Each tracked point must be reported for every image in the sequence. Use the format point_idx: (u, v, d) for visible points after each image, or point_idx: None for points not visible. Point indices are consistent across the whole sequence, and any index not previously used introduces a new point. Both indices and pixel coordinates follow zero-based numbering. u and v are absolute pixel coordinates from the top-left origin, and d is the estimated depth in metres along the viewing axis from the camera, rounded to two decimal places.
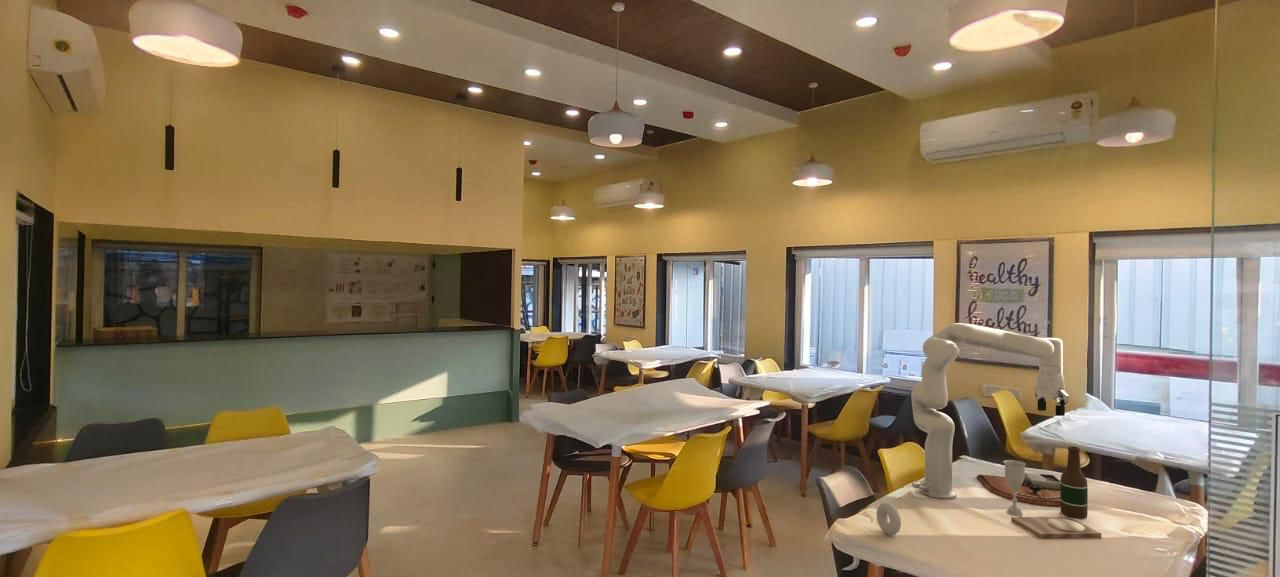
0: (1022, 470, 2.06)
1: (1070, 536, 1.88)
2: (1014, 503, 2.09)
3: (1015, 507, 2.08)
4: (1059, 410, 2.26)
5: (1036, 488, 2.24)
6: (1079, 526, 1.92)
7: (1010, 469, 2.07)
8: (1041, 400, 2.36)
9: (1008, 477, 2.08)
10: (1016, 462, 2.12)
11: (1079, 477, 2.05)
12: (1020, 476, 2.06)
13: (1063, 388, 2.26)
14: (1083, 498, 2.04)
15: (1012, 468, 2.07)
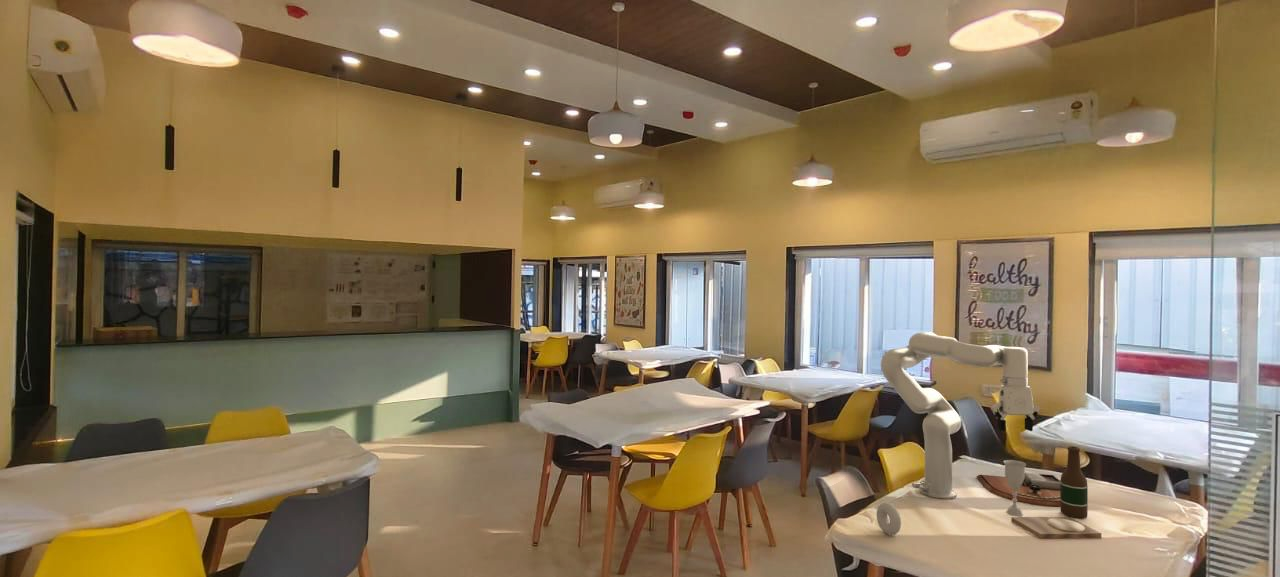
0: (1022, 470, 2.06)
1: (1070, 536, 1.88)
2: (1014, 503, 2.09)
3: (1015, 507, 2.08)
4: None
5: (1036, 488, 2.24)
6: (1079, 526, 1.92)
7: (1010, 469, 2.07)
8: None
9: (1008, 477, 2.08)
10: (1016, 462, 2.11)
11: (1079, 477, 2.05)
12: (1020, 476, 2.06)
13: None
14: (1083, 498, 2.04)
15: (1012, 468, 2.07)
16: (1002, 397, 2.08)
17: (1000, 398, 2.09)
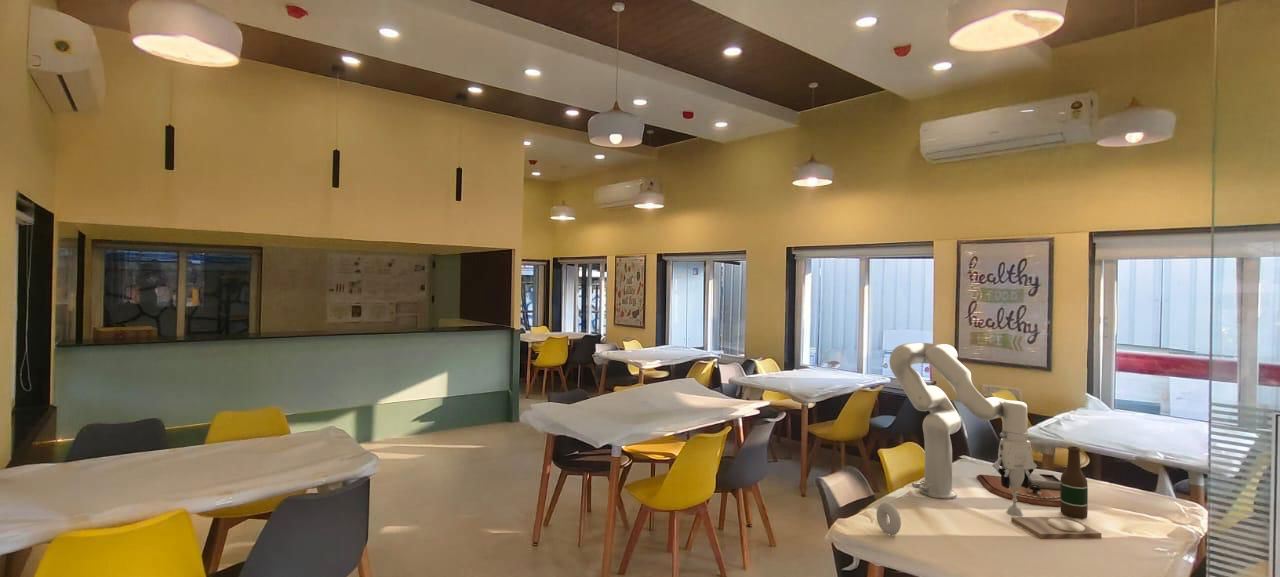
0: (1022, 470, 2.06)
1: (1070, 536, 1.88)
2: (1014, 503, 2.09)
3: (1015, 507, 2.08)
4: None
5: (1036, 488, 2.24)
6: (1079, 526, 1.92)
7: None
8: None
9: None
10: None
11: (1079, 477, 2.05)
12: (1020, 476, 2.06)
13: None
14: (1083, 498, 2.04)
15: None
16: (1002, 451, 2.08)
17: (1000, 453, 2.09)
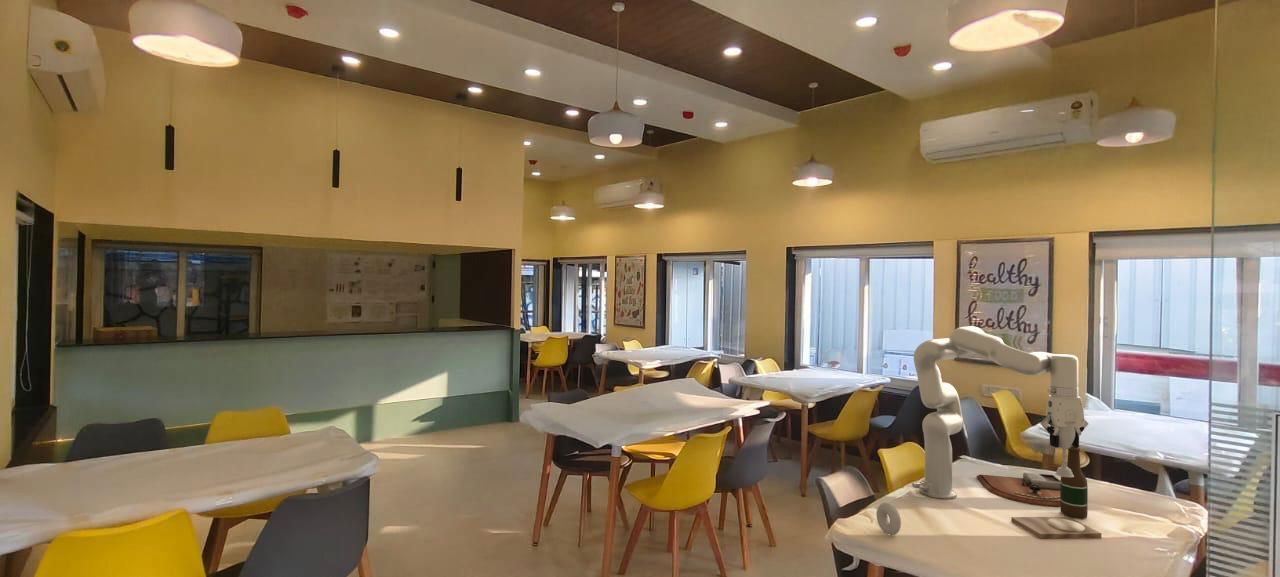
0: (1073, 427, 1.92)
1: (1070, 536, 1.88)
2: (1064, 463, 1.94)
3: (1065, 468, 1.94)
4: None
5: (1036, 488, 2.24)
6: (1079, 526, 1.92)
7: None
8: None
9: None
10: None
11: (1079, 477, 2.05)
12: (1071, 434, 1.92)
13: None
14: (1083, 498, 2.04)
15: None
16: (1050, 408, 1.94)
17: (1048, 410, 1.95)
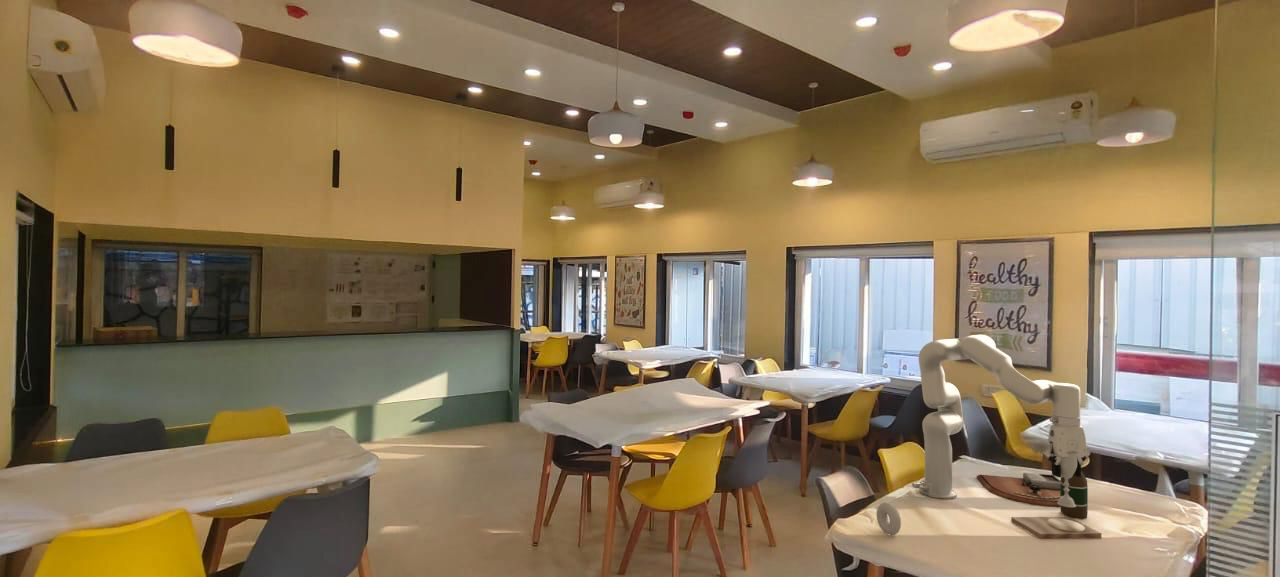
0: (1075, 457, 1.92)
1: (1070, 536, 1.88)
2: (1066, 493, 1.94)
3: (1067, 497, 1.93)
4: None
5: (1036, 488, 2.24)
6: (1079, 526, 1.92)
7: None
8: None
9: None
10: None
11: (1079, 477, 2.05)
12: (1073, 464, 1.91)
13: None
14: (1083, 498, 2.04)
15: None
16: (1052, 438, 1.94)
17: (1050, 439, 1.95)
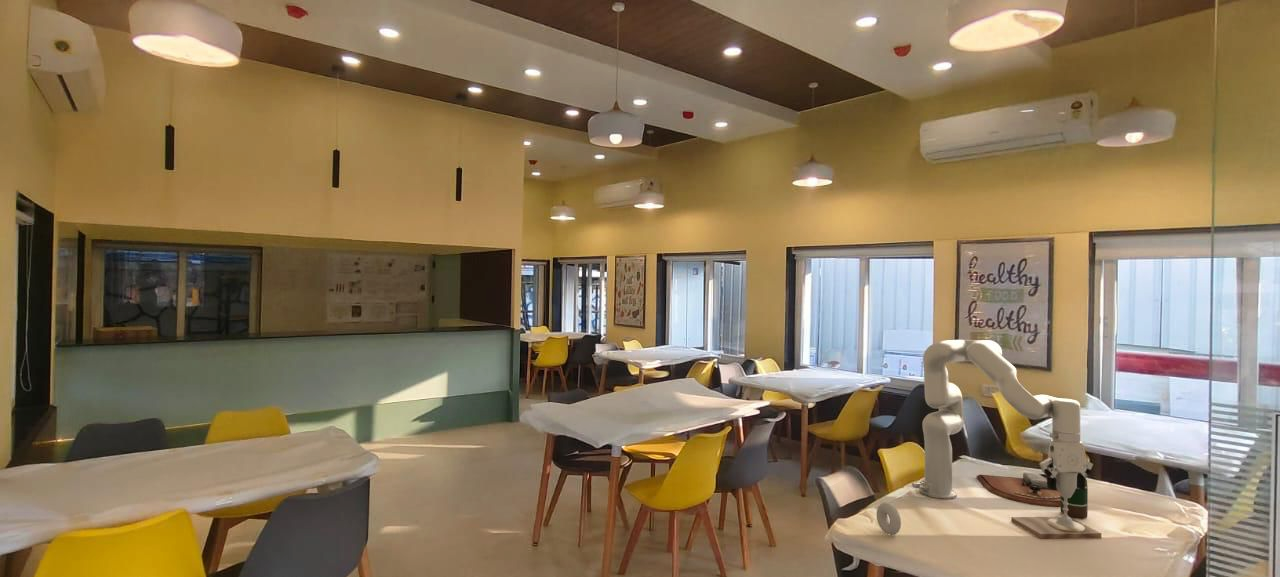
0: (1075, 477, 1.92)
1: (1070, 536, 1.88)
2: (1065, 513, 1.94)
3: (1066, 517, 1.93)
4: None
5: (1036, 488, 2.24)
6: (1079, 526, 1.92)
7: (1062, 476, 1.93)
8: None
9: (1059, 485, 1.93)
10: None
11: None
12: (1072, 484, 1.91)
13: None
14: (1083, 498, 2.04)
15: (1064, 476, 1.92)
16: (1052, 453, 1.94)
17: (1050, 454, 1.95)
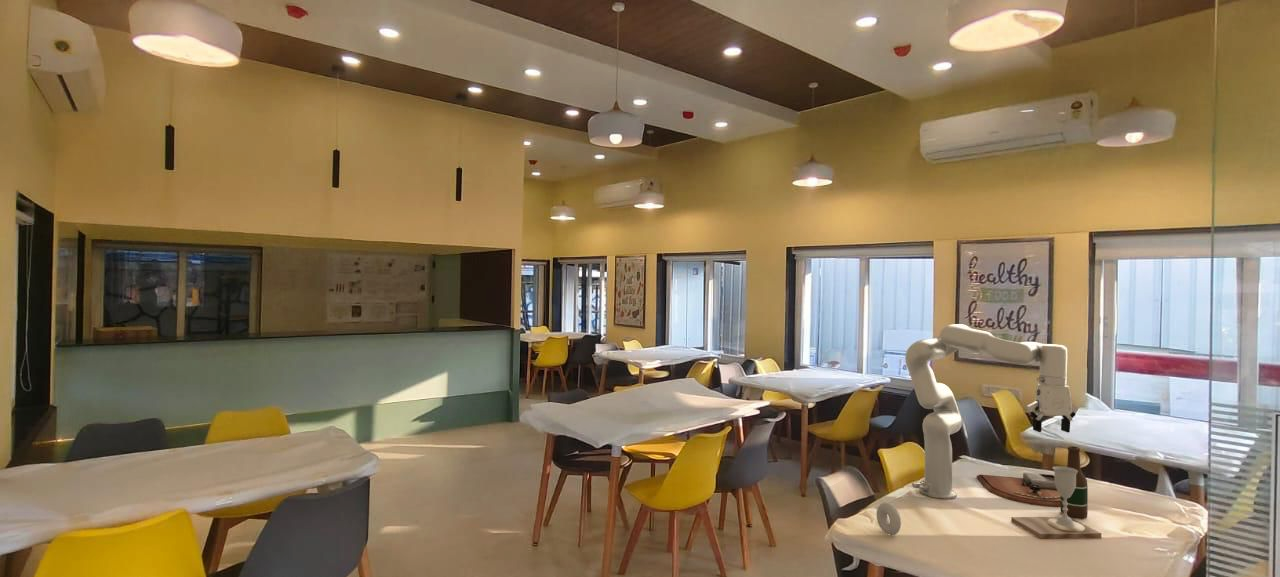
0: (1074, 477, 1.92)
1: (1070, 536, 1.88)
2: (1065, 513, 1.94)
3: (1066, 517, 1.94)
4: None
5: (1036, 488, 2.24)
6: (1079, 526, 1.92)
7: (1061, 476, 1.93)
8: None
9: (1058, 485, 1.93)
10: (1066, 468, 1.97)
11: (1079, 477, 2.05)
12: (1072, 484, 1.92)
13: None
14: (1083, 498, 2.04)
15: (1063, 475, 1.92)
16: (1038, 396, 1.99)
17: (1036, 398, 2.00)
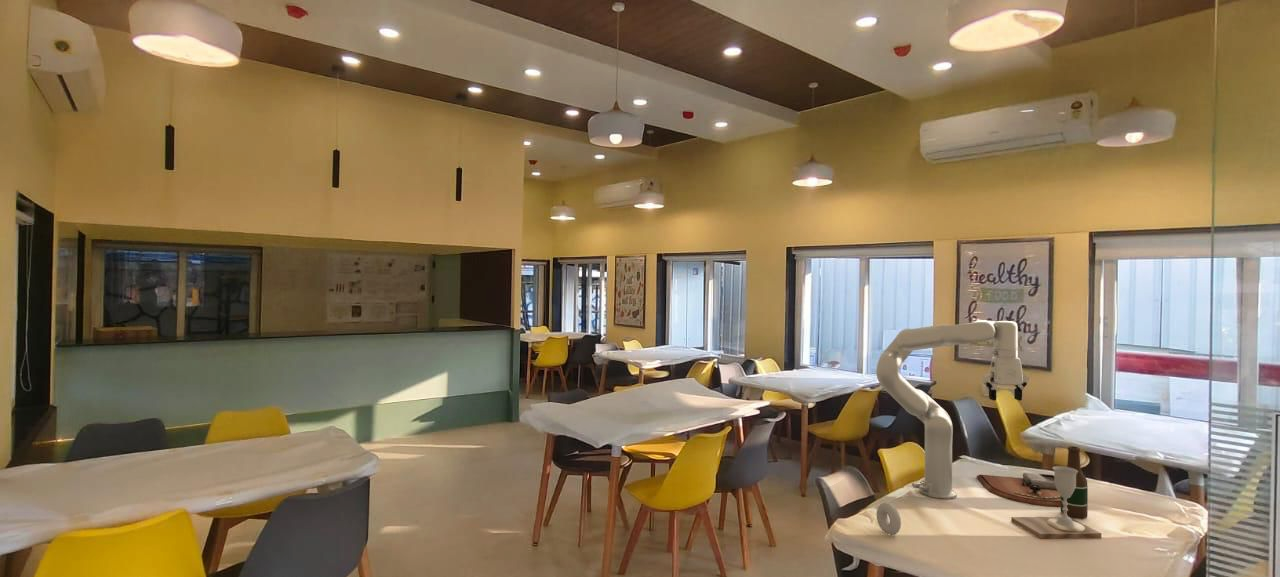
0: (1074, 477, 1.92)
1: (1070, 536, 1.88)
2: (1065, 513, 1.94)
3: (1066, 517, 1.94)
4: None
5: (1036, 488, 2.24)
6: (1079, 526, 1.92)
7: (1061, 476, 1.93)
8: None
9: (1058, 485, 1.93)
10: (1066, 468, 1.97)
11: (1079, 477, 2.05)
12: (1072, 484, 1.92)
13: None
14: (1083, 498, 2.04)
15: (1063, 476, 1.92)
16: (993, 368, 2.20)
17: (991, 370, 2.20)
